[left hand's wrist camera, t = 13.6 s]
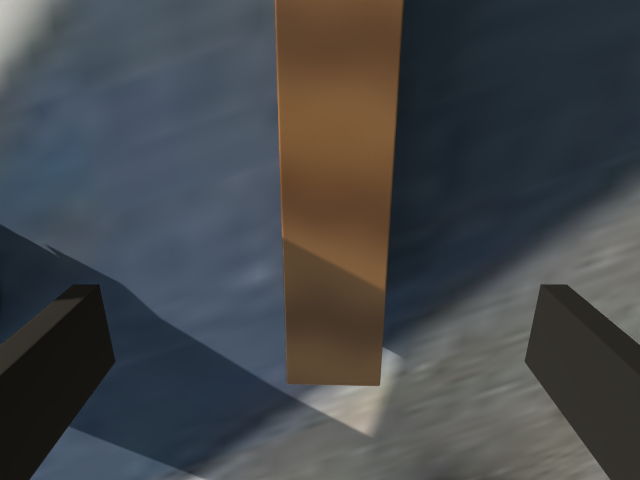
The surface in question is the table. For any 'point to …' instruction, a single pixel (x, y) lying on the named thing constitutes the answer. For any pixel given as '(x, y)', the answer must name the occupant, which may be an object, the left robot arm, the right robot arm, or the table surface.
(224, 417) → the table surface
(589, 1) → the table surface
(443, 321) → the table surface
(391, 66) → the beam
